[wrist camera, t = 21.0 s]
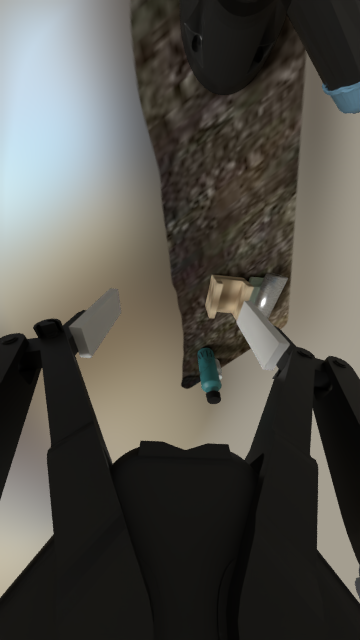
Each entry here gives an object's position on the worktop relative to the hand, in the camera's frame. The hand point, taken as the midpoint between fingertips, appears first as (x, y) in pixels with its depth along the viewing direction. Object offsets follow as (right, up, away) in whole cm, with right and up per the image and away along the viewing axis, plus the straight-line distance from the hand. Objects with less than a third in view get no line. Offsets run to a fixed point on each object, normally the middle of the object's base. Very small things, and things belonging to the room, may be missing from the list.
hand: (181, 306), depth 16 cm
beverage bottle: (+10, -14, +43) cm, 46 cm away
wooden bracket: (+13, +7, +30) cm, 33 cm away
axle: (+23, +4, +25) cm, 34 cm away
